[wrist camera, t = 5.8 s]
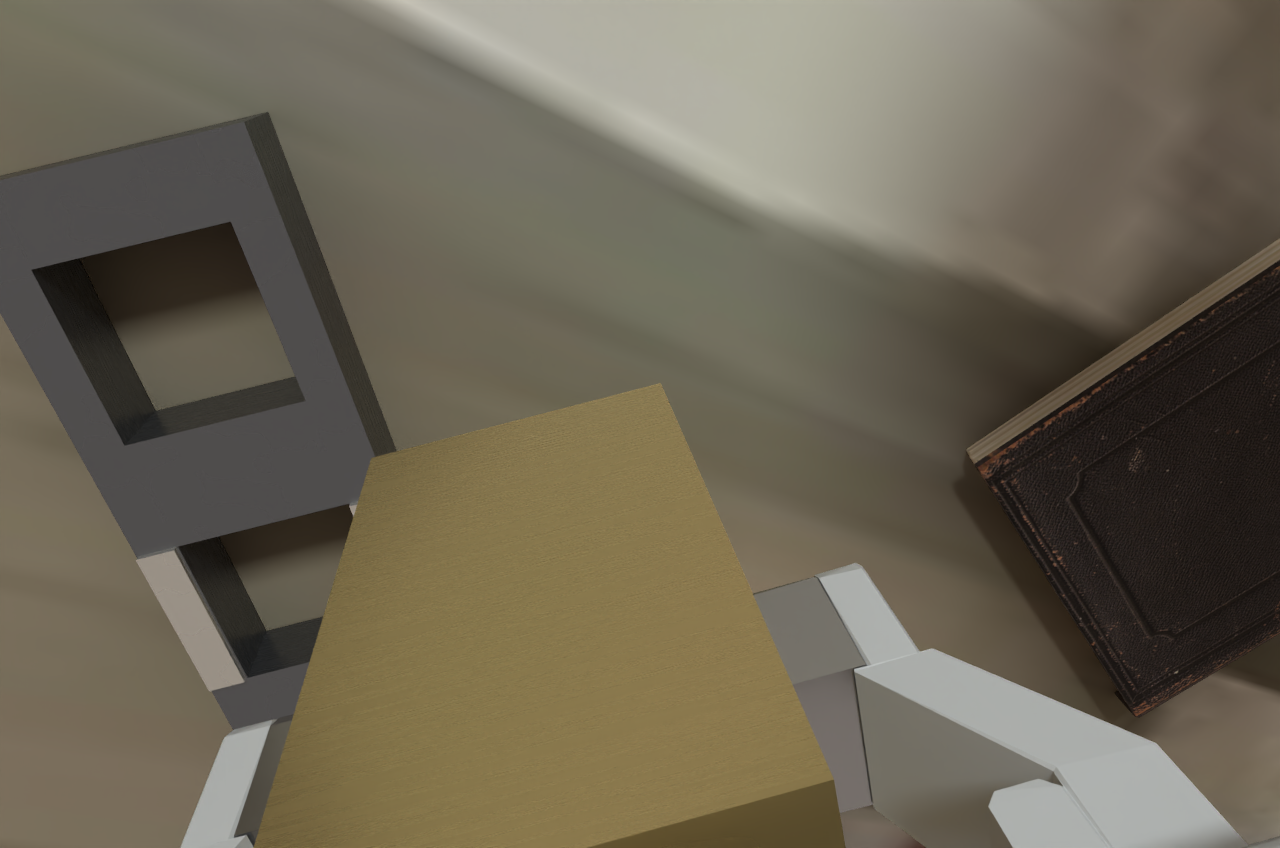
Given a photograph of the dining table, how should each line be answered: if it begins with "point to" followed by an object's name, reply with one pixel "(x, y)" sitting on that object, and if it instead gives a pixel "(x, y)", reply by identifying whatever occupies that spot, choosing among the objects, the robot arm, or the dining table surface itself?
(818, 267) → the dining table surface
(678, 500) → the block
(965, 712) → the robot arm
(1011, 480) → the hardcover book
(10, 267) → the grey slotted tray
